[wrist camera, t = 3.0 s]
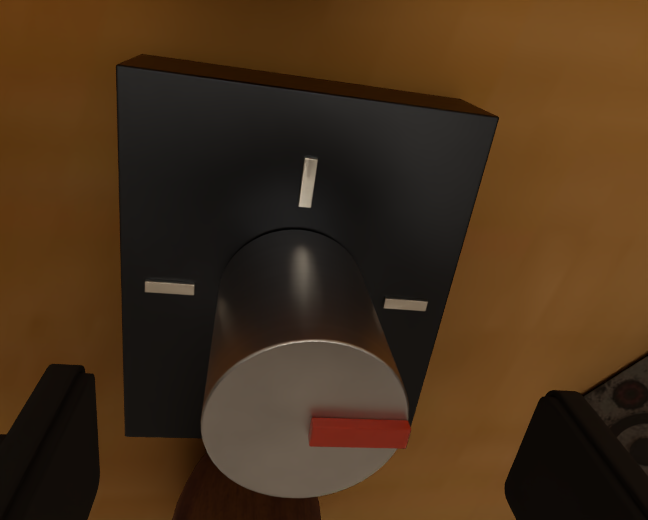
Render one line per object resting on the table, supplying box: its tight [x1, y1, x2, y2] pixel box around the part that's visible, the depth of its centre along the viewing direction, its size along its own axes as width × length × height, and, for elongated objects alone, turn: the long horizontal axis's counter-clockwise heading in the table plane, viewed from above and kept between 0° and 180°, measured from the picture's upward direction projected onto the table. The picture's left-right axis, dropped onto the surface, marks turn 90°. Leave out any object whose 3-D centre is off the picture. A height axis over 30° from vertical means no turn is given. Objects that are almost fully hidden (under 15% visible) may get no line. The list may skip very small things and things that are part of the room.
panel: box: [116, 54, 499, 438], centre depth 17 cm, size 10×12×3 cm
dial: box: [201, 230, 411, 498], centre depth 13 cm, size 4×4×6 cm
